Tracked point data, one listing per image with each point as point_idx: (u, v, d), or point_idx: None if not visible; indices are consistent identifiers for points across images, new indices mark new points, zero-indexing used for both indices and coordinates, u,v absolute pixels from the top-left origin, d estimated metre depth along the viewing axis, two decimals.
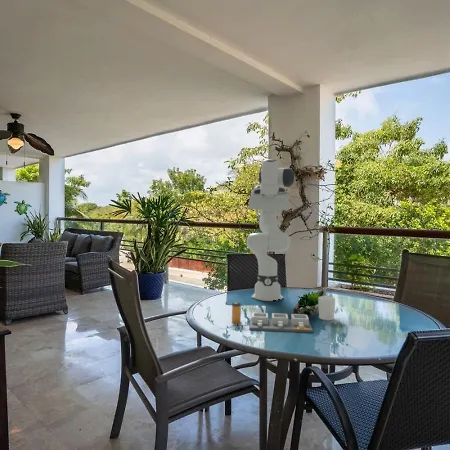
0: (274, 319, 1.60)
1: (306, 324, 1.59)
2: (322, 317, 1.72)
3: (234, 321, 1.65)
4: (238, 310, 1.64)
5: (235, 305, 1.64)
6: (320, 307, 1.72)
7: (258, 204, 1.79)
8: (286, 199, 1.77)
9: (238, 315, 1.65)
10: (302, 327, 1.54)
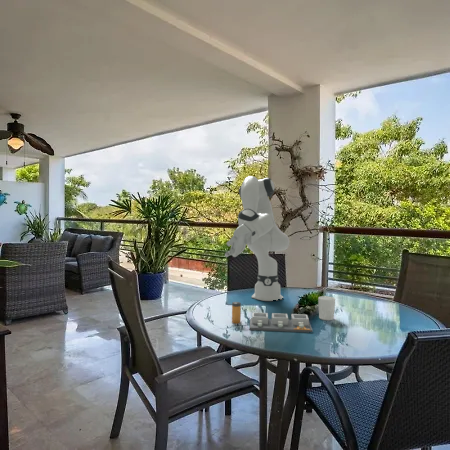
0: (274, 319, 1.60)
1: (306, 324, 1.59)
2: (322, 317, 1.72)
3: (234, 321, 1.65)
4: (238, 310, 1.64)
5: (235, 305, 1.64)
6: (320, 307, 1.72)
7: (241, 238, 1.67)
8: None
9: (238, 315, 1.65)
10: (302, 327, 1.54)
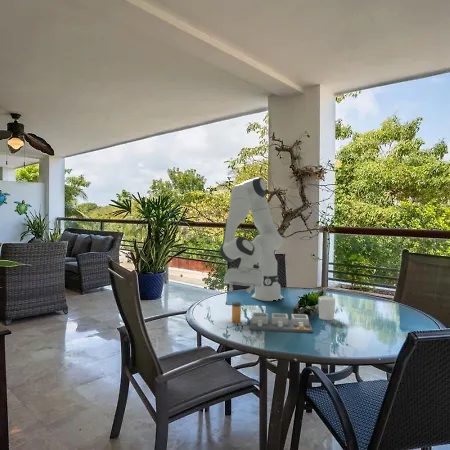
0: (274, 319, 1.60)
1: (306, 324, 1.59)
2: (322, 317, 1.72)
3: (234, 321, 1.65)
4: (238, 310, 1.64)
5: (235, 305, 1.64)
6: (320, 307, 1.72)
7: None
8: None
9: (238, 315, 1.65)
10: (302, 327, 1.54)
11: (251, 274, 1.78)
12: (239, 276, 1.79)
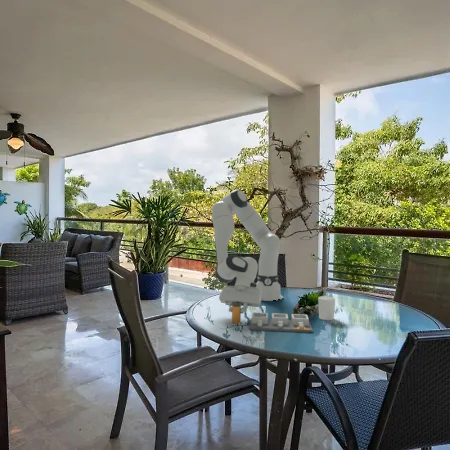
0: (274, 319, 1.60)
1: (306, 324, 1.59)
2: (322, 317, 1.72)
3: (234, 321, 1.65)
4: (238, 310, 1.64)
5: (235, 305, 1.64)
6: (320, 307, 1.72)
7: None
8: None
9: (238, 315, 1.65)
10: (302, 327, 1.54)
11: (248, 292, 1.69)
12: (235, 296, 1.70)
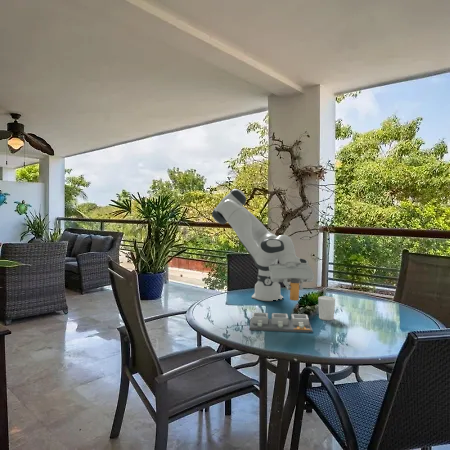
0: (274, 319, 1.60)
1: (306, 324, 1.59)
2: (322, 317, 1.72)
3: (295, 298, 1.60)
4: (298, 286, 1.61)
5: (296, 282, 1.60)
6: (320, 307, 1.72)
7: None
8: None
9: (298, 292, 1.61)
10: (302, 327, 1.54)
11: (299, 269, 1.67)
12: (289, 273, 1.65)
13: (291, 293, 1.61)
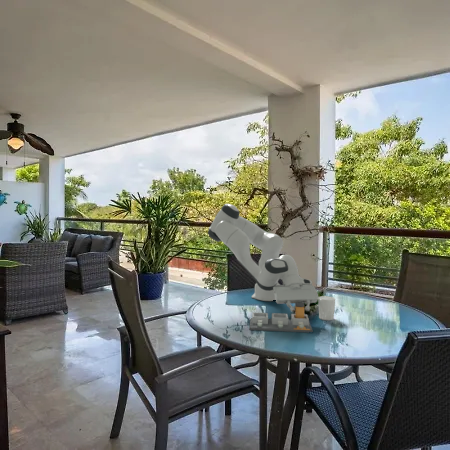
0: (274, 319, 1.60)
1: (306, 324, 1.59)
2: (322, 317, 1.72)
3: None
4: (303, 310, 1.62)
5: (302, 305, 1.61)
6: (320, 307, 1.72)
7: None
8: None
9: (303, 315, 1.62)
10: (302, 327, 1.54)
11: (303, 289, 1.68)
12: (293, 294, 1.65)
13: (297, 317, 1.61)
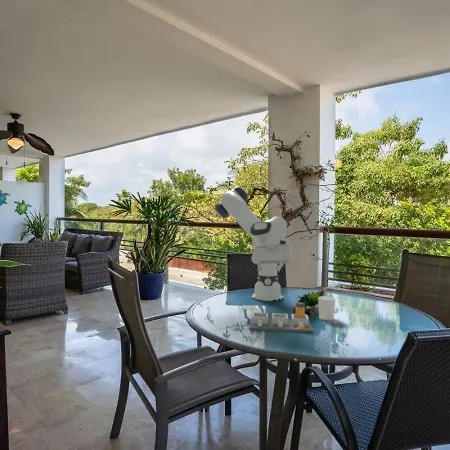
0: (274, 319, 1.60)
1: (306, 324, 1.59)
2: (322, 317, 1.72)
3: None
4: (304, 310, 1.62)
5: (302, 306, 1.61)
6: (320, 307, 1.72)
7: None
8: None
9: (304, 315, 1.62)
10: (302, 327, 1.54)
11: (279, 250, 1.71)
12: (266, 255, 1.72)
13: (297, 317, 1.61)
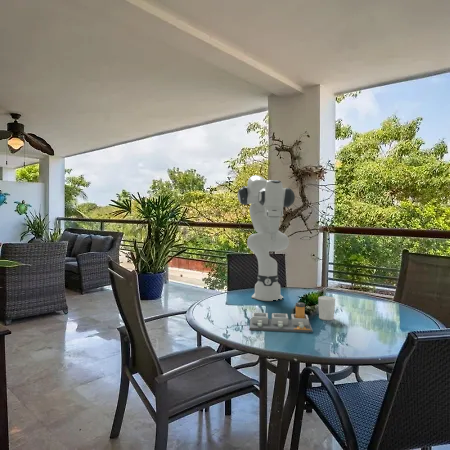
0: (274, 319, 1.60)
1: (306, 324, 1.59)
2: (322, 317, 1.72)
3: None
4: (304, 310, 1.62)
5: (302, 306, 1.61)
6: (320, 307, 1.72)
7: None
8: None
9: (304, 315, 1.62)
10: (302, 327, 1.54)
11: None
12: None
13: (297, 317, 1.61)
